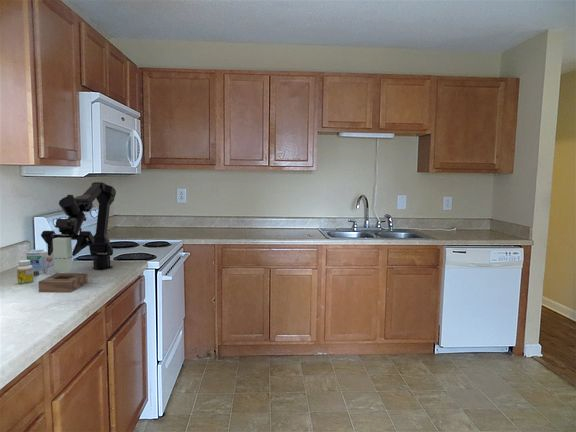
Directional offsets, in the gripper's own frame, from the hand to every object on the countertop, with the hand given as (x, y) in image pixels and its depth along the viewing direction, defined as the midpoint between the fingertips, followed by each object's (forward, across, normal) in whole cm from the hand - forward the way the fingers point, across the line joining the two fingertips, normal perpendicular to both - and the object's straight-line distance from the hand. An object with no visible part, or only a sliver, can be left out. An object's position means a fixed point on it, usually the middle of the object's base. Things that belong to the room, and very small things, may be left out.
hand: (60, 255), depth 157 cm
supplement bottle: (+4, -19, +15) cm, 24 cm away
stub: (+3, 0, +5) cm, 6 cm away
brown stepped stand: (+9, 0, +11) cm, 14 cm away
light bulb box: (-6, -20, +26) cm, 34 cm away
